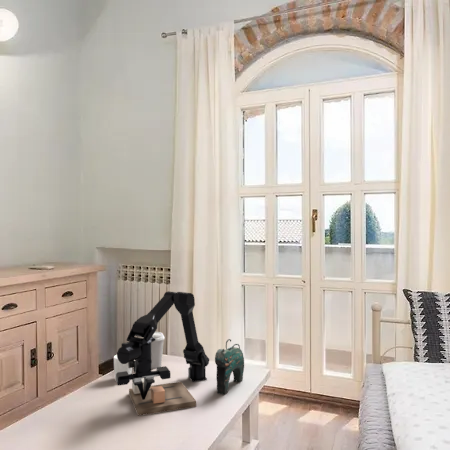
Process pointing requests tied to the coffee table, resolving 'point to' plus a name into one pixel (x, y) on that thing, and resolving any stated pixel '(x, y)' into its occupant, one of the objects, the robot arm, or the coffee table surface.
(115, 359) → the white cup
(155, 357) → the coffee cup
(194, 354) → the robot arm
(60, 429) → the coffee table surface
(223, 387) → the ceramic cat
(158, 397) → the block
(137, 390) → the block
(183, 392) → the fader panel
